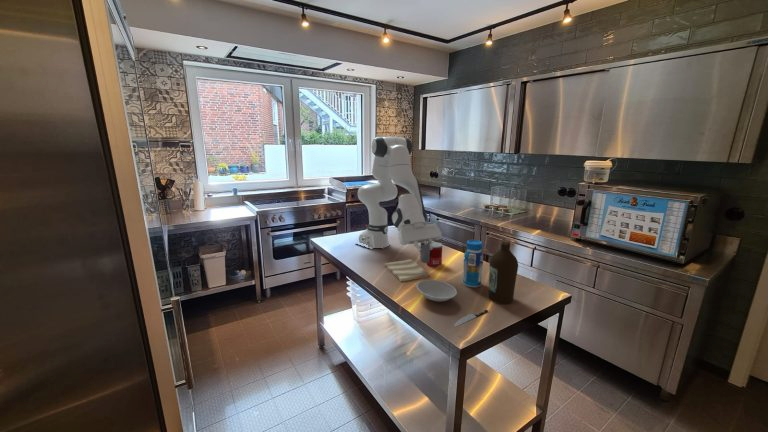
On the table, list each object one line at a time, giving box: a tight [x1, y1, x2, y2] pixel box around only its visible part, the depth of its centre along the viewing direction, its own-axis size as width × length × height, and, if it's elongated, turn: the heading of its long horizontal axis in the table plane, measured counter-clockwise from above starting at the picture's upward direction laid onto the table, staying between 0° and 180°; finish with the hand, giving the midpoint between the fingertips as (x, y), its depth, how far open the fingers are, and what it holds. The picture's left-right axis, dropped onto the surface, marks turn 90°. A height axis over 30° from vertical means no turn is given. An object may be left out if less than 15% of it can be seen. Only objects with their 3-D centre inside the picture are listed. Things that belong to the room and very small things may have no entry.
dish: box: [415, 279, 458, 303], centre depth 122 cm, size 18×14×5 cm
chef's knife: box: [454, 309, 489, 327], centre depth 110 cm, size 19×1×3 cm
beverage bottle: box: [462, 239, 484, 288], centre depth 134 cm, size 8×8×20 cm
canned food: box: [426, 241, 443, 268], centre depth 158 cm, size 8×8×11 cm
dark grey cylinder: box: [419, 241, 430, 264], centre depth 133 cm, size 4×4×9 cm
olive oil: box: [488, 239, 519, 305], centre depth 120 cm, size 11×11×25 cm
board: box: [384, 258, 430, 282], centre depth 150 cm, size 20×15×2 cm
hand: (425, 250), depth 132 cm, fingers closed on dark grey cylinder, 4 cm apart
